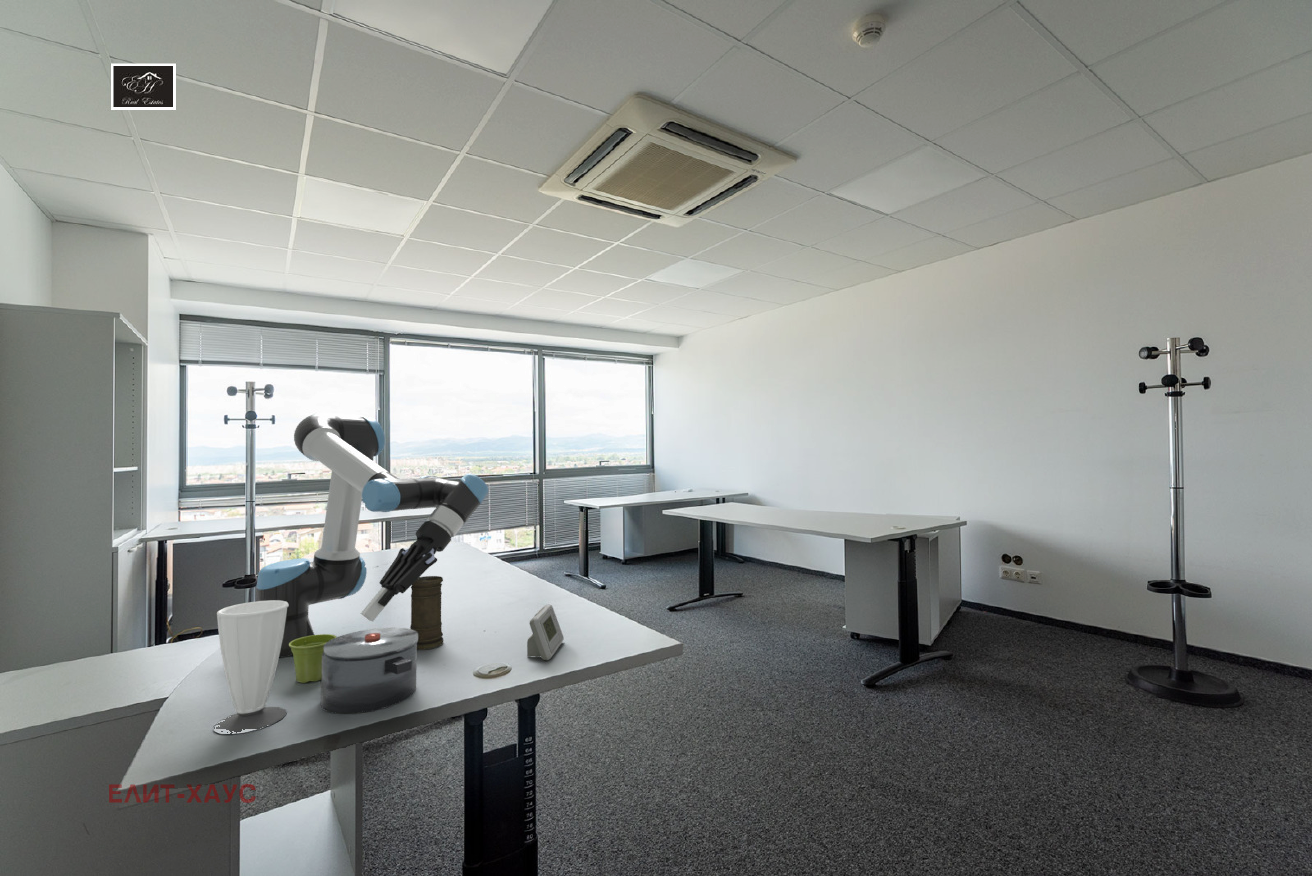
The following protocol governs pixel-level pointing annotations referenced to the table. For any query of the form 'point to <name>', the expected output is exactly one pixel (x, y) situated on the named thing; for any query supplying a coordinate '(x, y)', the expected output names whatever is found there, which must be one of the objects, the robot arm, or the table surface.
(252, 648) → the cup
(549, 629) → the digital clock
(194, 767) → the table surface
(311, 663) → the plant pot
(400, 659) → the cooking pot
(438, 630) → the container
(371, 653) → the pot lid
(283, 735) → the table surface
